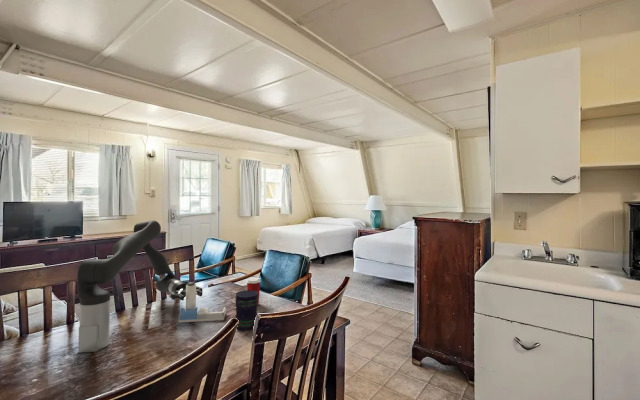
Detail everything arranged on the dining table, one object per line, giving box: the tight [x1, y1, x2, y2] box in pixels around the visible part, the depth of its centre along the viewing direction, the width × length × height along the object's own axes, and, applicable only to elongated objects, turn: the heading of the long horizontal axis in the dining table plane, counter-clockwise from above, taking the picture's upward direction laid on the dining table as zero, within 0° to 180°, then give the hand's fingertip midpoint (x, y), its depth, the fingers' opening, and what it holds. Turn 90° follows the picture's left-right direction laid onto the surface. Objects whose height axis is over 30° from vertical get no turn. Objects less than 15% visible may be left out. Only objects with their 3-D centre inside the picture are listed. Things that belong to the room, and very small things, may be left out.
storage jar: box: [235, 290, 259, 332], centre depth 134 cm, size 10×10×15 cm
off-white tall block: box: [185, 281, 197, 311], centre depth 142 cm, size 5×5×16 cm
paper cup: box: [245, 277, 262, 305], centre depth 162 cm, size 8×8×14 cm
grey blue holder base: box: [178, 306, 227, 323], centre depth 143 cm, size 8×20×6 cm, turn 101°
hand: (192, 296), depth 141 cm, fingers open, 8 cm apart
